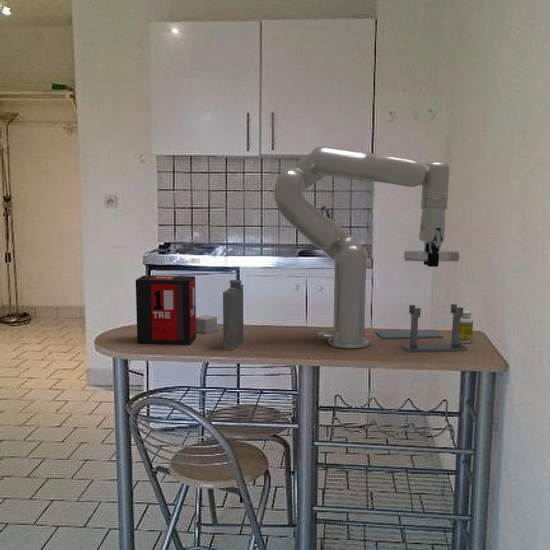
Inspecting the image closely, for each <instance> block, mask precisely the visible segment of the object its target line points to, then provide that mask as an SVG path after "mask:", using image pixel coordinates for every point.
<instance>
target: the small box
mask: <svg viewBox="0 0 550 550" xmlns="http://www.w3.org/2000/svg"><path fill="white" fill-rule="evenodd" d="M214 332H218V317H217V316H212V315H208V314H205V315H199V316H196V333H201V334H205V335H206V334H210V333H214Z"/></svg>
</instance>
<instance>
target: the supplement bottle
mask: <svg viewBox="0 0 550 550" xmlns="http://www.w3.org/2000/svg"><path fill="white" fill-rule="evenodd" d="M473 331H474V319H473V318H472V311H470V310H465V309H463V317H460V331H459V343H460V344H468V343H471V342H473Z"/></svg>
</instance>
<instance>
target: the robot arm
mask: <svg viewBox="0 0 550 550" xmlns="http://www.w3.org/2000/svg"><path fill="white" fill-rule="evenodd" d="M327 176H328V177H334V178H340V179H345V180H346V179H347V180H353V181H359V182H368V183H369V182H370V183H371V182H375V183H383V184H390V185H397V186H401V187H402V186H404V187H408V188H415V187H418V186H422V187H421V203H420V209H421V210H422V211H421V216H420V225H419V235H418V239H419V241H421V242H423V243H424V245H423V246H424V248H423V251H429V253H428V261H423V265H424V266H427V267H429V268H430V267H431V268H433V267H434V268H435V267H436V268H438V267H439V262H440V261H439V252H440V251H441V249H440V248H441V247H442V243H443V242H445V241H444V240H445V230H446V229H445V228H446V227H445V226H446V215H445V214H446V210H448V200H449V199H448V197H449V182H450V181H449V180H450V166H449V164H448V163H447V162H443V161H441V162H439V161H436V162H435V161H429V162H424V163H423V162H419V161H417V160H412V159H406V158H400V157H394V156H393V157H392V156H385V155H380V154H375V153H371V152H365V151H361V150H360V151H359V150H352V149H346V148H345V149H344V148H340V147H332V146H327V145H326V146H324V145H320V146H318V147H317V146H316V148H314V149H313V150H312V151H311V153H309V154H307V155H306V156H305V157H303V158H302V159H301V160H299V161H298V162H297V163H295V164H294V165H291V166H290V167H288V168H285V169H282V171H280V172H279V173H278V176H277V177H276V181H275V184H274V191H273V194H274V195H273V197H274V201H275V205H276V207H277V209H278V211H279V213H280V214H281V216H283V218H284V219H286V221H288V222H289V223H290V225H292V226H293V227H294V228H295V229H296V230H297V231H298V232H299V233H300V234H302V236H304V237H305V238H306V240H308V241H309V242H310V243H311V244H312V245H313V246H314V247H315V248H317V249H319V250H321V252H324V253H325V254H326V255H327V256H328V257H330V258H331V260H332V261H334V277H333V279H334V281H333V284H334V285H333V327H330V329H329V330H327V331H325V330H320V331H318V333H317V336H318V338H323V339H328V340H327V341H328V344H329V345H330V346H332V347H334V348H339V349H349V350H351V349H353V350H354V349H362V348H365V347H368V346H369V345H370V340H369V339H368V338H366V337H365V327H366V325H365V323H366V322H365V321H366V319H365V318H366V289H367V288H366V286H367V285H366V284H367V269H368V257H367V253H366V249H365V248H364V247H363V246H362V244H361V243H360V242H359V241H358V240H357V239H355V238H354V237H353V236H352V235H351V234H350V233H349V232H347V231H346V230H345V229H344V228H343V227H341V225H340V224H338V223H337V222H336V221H335V220H333V219H332V218H330V217H328V216H325V215H324V214H323V213H321V212H320V211H319V210H318V209H317V208H316V207H315V206H314V205H313V204H311V202H309V201H308V200H307V199H306V197H305V196H304V193H303V192H304V191H306V190H307V189H308V188H310V187H311V186H313V185H314V184H316V183H318V181H320V180H322V179H324V178H325V177H327Z"/></svg>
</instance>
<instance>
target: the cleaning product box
mask: <svg viewBox="0 0 550 550" xmlns="http://www.w3.org/2000/svg"><path fill="white" fill-rule="evenodd" d="M135 301H136V302H135V304H136V305H135V306H136V307H135V308H136V333H137V334H136V335H137V338H136V339H137V343H136V344H137V345H161V346H162V345H163V346H164V345H165V346H192V344H193V342H195V340H196V339H197V332H196V317H197V312H196V311H197V305H196V304H197V303H196V276H193V275H192V276H191V275H188V276H187V275H142V276H140V277H139V278H137V279H135Z"/></svg>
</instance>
